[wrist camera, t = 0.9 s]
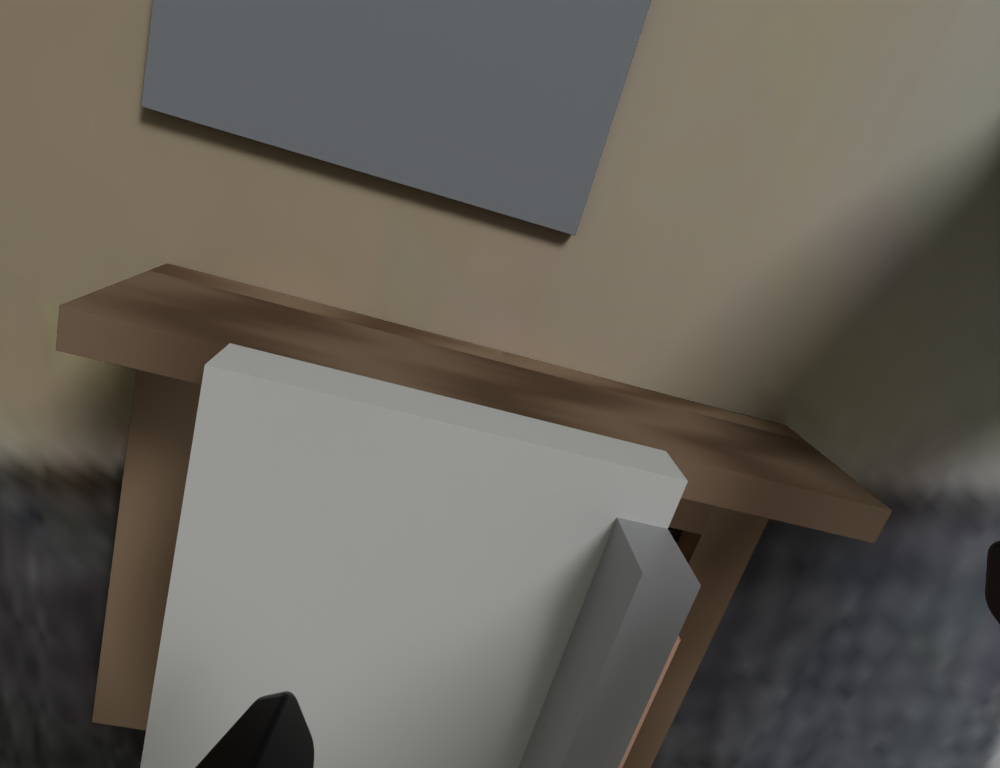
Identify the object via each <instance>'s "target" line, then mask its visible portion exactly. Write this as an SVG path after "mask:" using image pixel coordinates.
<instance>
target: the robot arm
mask: <svg viewBox="0 0 1000 768" xmlns="http://www.w3.org/2000/svg"><path fill="white" fill-rule="evenodd" d="M985 597H986V602H987V605H988V607H989V609H990V611H991V613H992V614H993V616H994V617H995V619H996V620H997V621H998V622H999V624H1000V541H997V542H995V543H993V544H992V545H991V546H990V548H989V549H988V556H987V571H986V587H985ZM313 767H314V743H313V739H312V736H311V733H310V730H309V728H308V726H307V723H306V721H305V718H304V716H303V713H302V711H301V708H300V706H299V703H298V701H297V699H296V697H295V695H294V694H293V693H292V692H289V691H284V692H279V693H274V694H270V695H265V696H262V697H260V698H258V699H257V700H256V701H255V702H254V703H253V704H252V705H251V706H250V707H249V708H248V709H247V710H246V712H245V713H244V714H243V715H242V716H241V717H240V718H239V719H238V720H237V722H236V723H235V724H234V725H233V726H232V727H231V728H230V729H229V730H228V732H227V733H226V734H225V735H224V736H223V737H222V738H221V739H220V740H219V742H218V743H217V744H216V745H215V746H214V747H213V748H212V749H211V751H210V752H209V753H208V754H207V755H206V756H205V757H204V758H203V759H202V761H201V762H200V763H199V764H198V765H197V766H196V767H195V768H313Z"/></svg>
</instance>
